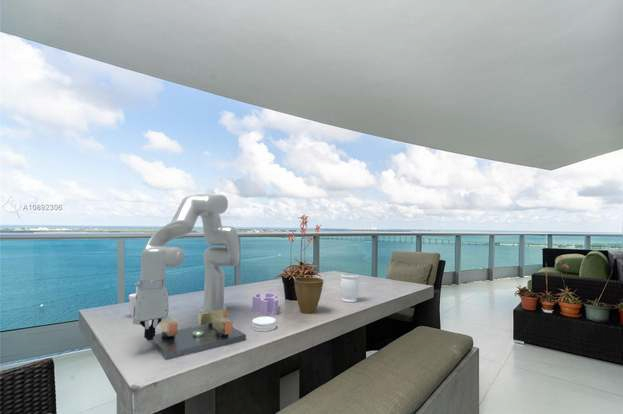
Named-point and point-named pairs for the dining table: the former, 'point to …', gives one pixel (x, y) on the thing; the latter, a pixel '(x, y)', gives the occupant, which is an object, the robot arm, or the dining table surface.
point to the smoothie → (132, 302)
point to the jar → (349, 287)
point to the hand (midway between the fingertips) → (149, 339)
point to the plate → (193, 341)
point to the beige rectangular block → (210, 316)
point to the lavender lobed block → (265, 304)
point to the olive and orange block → (168, 328)
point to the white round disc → (263, 324)
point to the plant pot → (308, 293)
